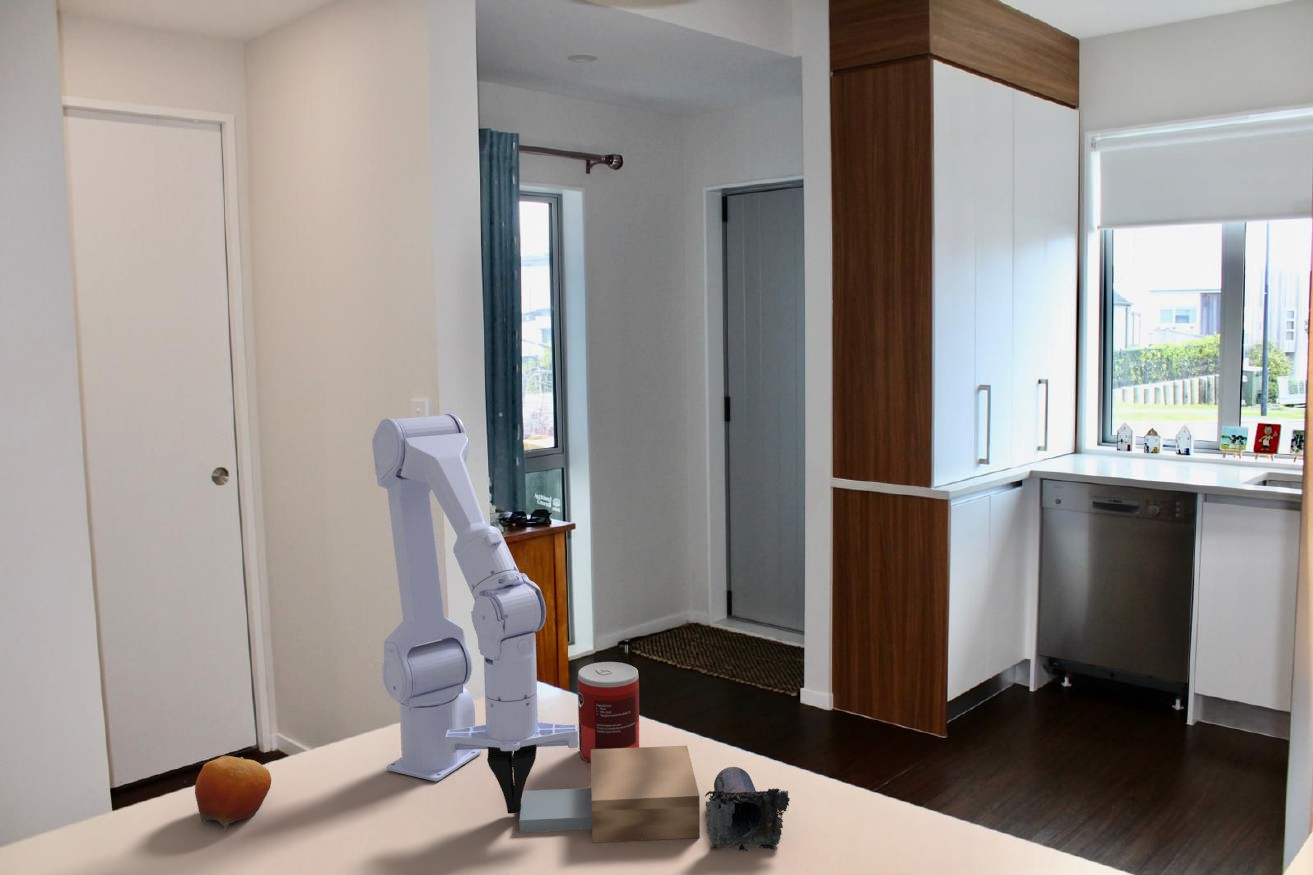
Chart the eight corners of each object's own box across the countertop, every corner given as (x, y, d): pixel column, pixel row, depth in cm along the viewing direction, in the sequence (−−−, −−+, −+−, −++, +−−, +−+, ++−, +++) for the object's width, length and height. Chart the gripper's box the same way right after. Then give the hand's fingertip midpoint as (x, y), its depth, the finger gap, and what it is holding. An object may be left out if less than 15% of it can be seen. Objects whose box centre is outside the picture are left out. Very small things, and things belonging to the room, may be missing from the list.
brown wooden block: (592, 842, 107) (591, 800, 107) (591, 787, 120) (590, 749, 120) (699, 837, 108) (699, 795, 108) (687, 783, 121) (687, 745, 120)
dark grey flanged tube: (779, 863, 106) (756, 814, 118) (792, 792, 105) (768, 749, 117) (695, 852, 105) (681, 804, 117) (708, 780, 104) (692, 739, 116)
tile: (519, 836, 110) (519, 820, 110) (523, 805, 117) (523, 791, 116) (639, 830, 111) (638, 814, 110) (635, 800, 118) (635, 786, 117)
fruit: (164, 821, 110) (190, 746, 113) (213, 828, 117) (236, 757, 120) (223, 833, 107) (247, 756, 110) (270, 839, 114) (291, 766, 117)
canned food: (603, 737, 135) (602, 657, 134) (652, 751, 130) (651, 669, 129) (566, 757, 129) (564, 674, 127) (615, 773, 124) (614, 686, 123)
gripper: (439, 708, 107) (444, 829, 109) (576, 703, 108) (579, 823, 110) (448, 684, 114) (452, 799, 116) (576, 680, 115) (579, 793, 117)
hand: (514, 809), depth 113 cm, fingers closed
